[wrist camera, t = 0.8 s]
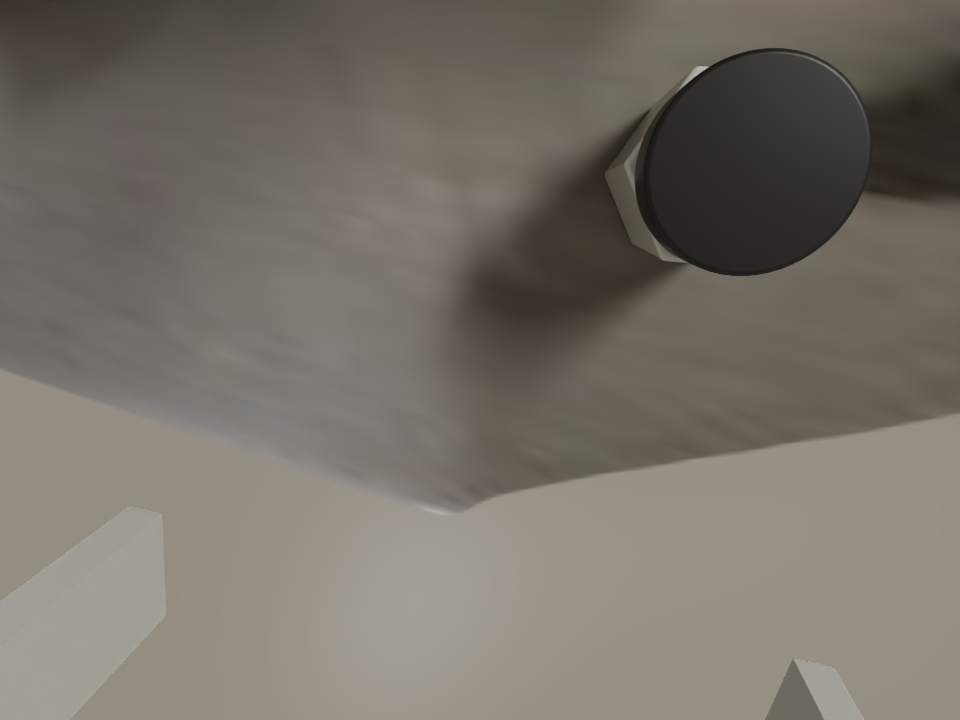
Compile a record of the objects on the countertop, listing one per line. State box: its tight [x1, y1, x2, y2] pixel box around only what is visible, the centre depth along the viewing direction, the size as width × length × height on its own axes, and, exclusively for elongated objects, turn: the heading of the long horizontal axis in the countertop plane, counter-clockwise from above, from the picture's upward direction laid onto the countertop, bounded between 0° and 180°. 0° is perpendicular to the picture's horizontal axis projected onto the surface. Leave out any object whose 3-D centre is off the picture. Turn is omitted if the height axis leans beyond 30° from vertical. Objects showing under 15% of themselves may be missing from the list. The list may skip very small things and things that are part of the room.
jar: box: [605, 48, 872, 276], centre depth 26 cm, size 9×8×12 cm
